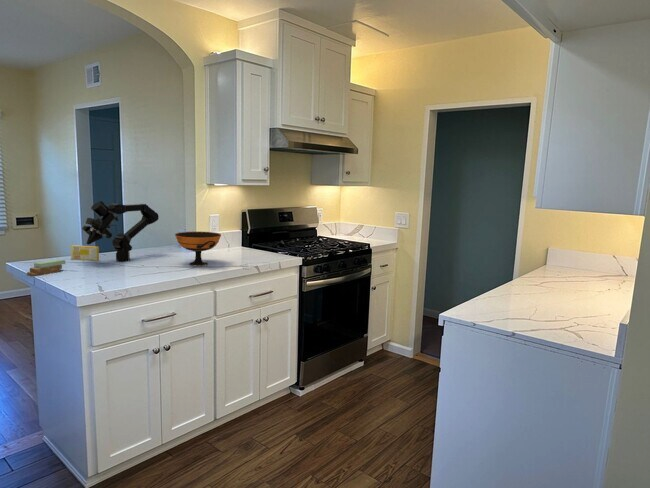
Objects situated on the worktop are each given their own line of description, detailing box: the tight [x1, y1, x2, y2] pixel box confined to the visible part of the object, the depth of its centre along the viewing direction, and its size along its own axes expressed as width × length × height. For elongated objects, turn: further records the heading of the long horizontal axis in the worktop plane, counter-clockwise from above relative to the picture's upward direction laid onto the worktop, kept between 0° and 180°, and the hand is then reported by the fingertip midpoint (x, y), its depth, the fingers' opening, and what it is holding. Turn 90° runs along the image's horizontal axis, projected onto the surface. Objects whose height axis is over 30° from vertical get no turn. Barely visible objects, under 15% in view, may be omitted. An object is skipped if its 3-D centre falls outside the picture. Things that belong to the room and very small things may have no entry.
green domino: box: [33, 258, 66, 268], centre depth 227 cm, size 2×5×13 cm
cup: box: [174, 231, 222, 267], centre depth 261 cm, size 36×26×18 cm
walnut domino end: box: [26, 269, 61, 277], centre depth 224 cm, size 2×5×13 cm
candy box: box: [70, 244, 100, 262], centre depth 260 cm, size 16×2×8 cm, turn 84°
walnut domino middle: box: [29, 264, 63, 273], centre depth 225 cm, size 2×5×13 cm
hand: (87, 244), depth 243 cm, fingers closed
